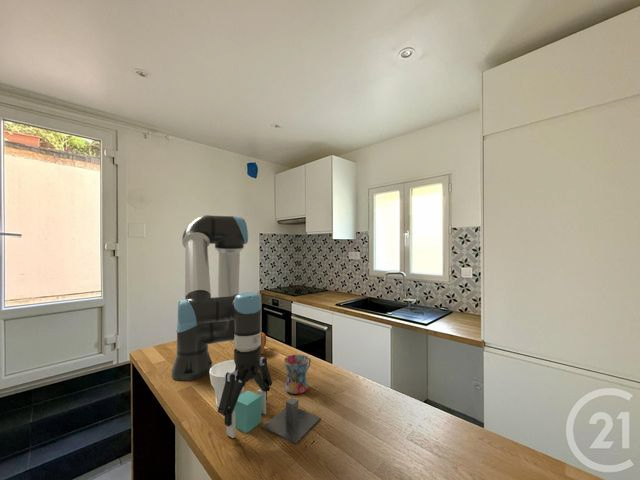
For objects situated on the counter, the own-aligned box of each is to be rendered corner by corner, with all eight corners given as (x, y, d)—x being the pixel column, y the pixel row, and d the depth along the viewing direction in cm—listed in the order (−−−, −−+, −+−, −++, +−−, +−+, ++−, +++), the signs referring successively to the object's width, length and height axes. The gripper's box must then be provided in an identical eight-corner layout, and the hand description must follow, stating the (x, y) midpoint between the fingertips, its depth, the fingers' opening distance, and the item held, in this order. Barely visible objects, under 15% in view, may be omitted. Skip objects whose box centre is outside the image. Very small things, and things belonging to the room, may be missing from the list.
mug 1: (273, 351, 132) (273, 332, 132) (252, 358, 123) (252, 339, 123) (262, 346, 138) (262, 328, 138) (241, 353, 129) (241, 334, 129)
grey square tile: (262, 428, 76) (262, 404, 76) (288, 406, 86) (288, 386, 86) (296, 444, 69) (296, 419, 69) (320, 419, 79) (320, 397, 80)
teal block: (233, 426, 76) (233, 399, 77) (247, 415, 81) (247, 390, 81) (246, 433, 73) (246, 405, 74) (261, 421, 78) (261, 395, 78)
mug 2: (296, 399, 90) (296, 367, 90) (278, 390, 96) (278, 360, 96) (319, 385, 99) (319, 356, 99) (301, 377, 105) (301, 350, 105)
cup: (210, 417, 81) (211, 380, 81) (207, 396, 92) (207, 364, 92) (252, 405, 86) (252, 371, 87) (244, 387, 97) (244, 357, 98)
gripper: (222, 365, 66) (221, 455, 65) (283, 337, 86) (283, 406, 85) (203, 358, 70) (202, 443, 69) (266, 333, 90) (266, 399, 89)
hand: (247, 423), depth 77 cm, fingers open, 11 cm apart
